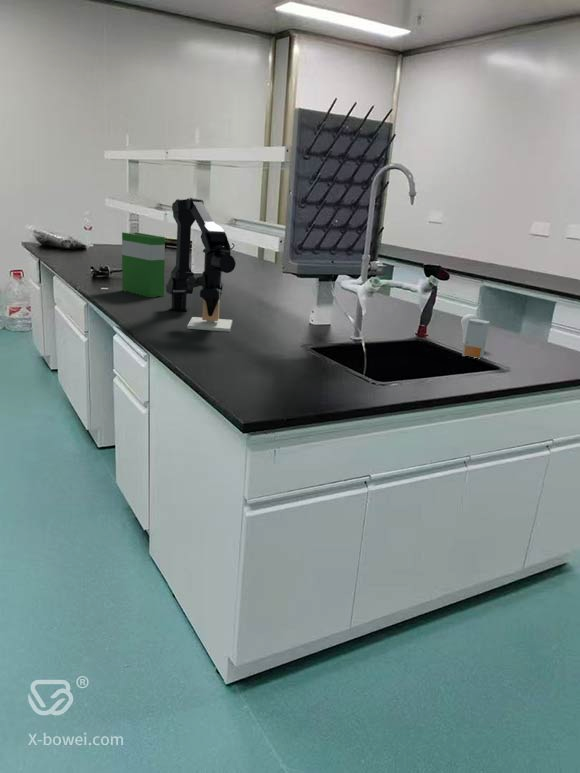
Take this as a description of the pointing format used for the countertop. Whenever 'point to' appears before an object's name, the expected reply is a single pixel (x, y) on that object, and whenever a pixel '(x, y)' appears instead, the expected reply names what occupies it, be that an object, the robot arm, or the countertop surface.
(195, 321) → the post stand
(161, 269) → the hardback book
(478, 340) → the skincare box
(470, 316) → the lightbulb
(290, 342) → the countertop surface
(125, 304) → the countertop surface
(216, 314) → the tan wooden brick
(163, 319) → the countertop surface
